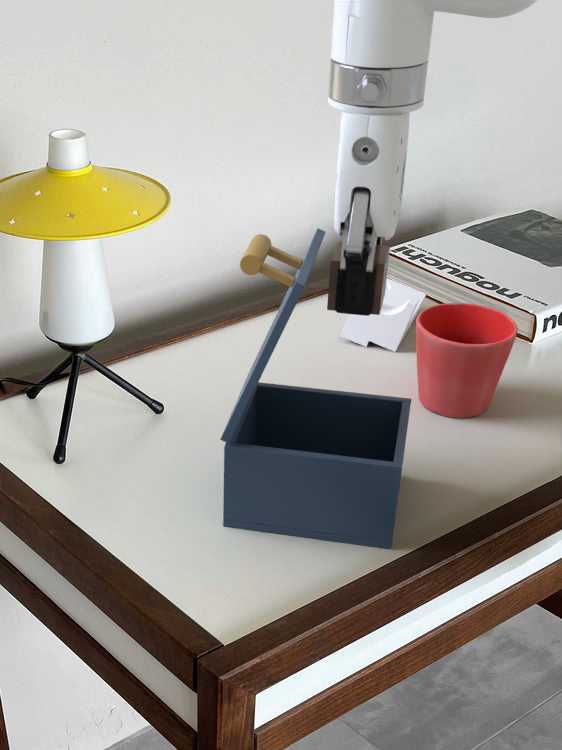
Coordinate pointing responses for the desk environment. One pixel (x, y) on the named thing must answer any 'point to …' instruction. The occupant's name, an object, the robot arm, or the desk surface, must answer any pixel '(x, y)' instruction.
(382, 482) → the chest
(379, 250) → the block
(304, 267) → the lid
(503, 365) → the flower pot
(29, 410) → the desk surface
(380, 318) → the bracket
